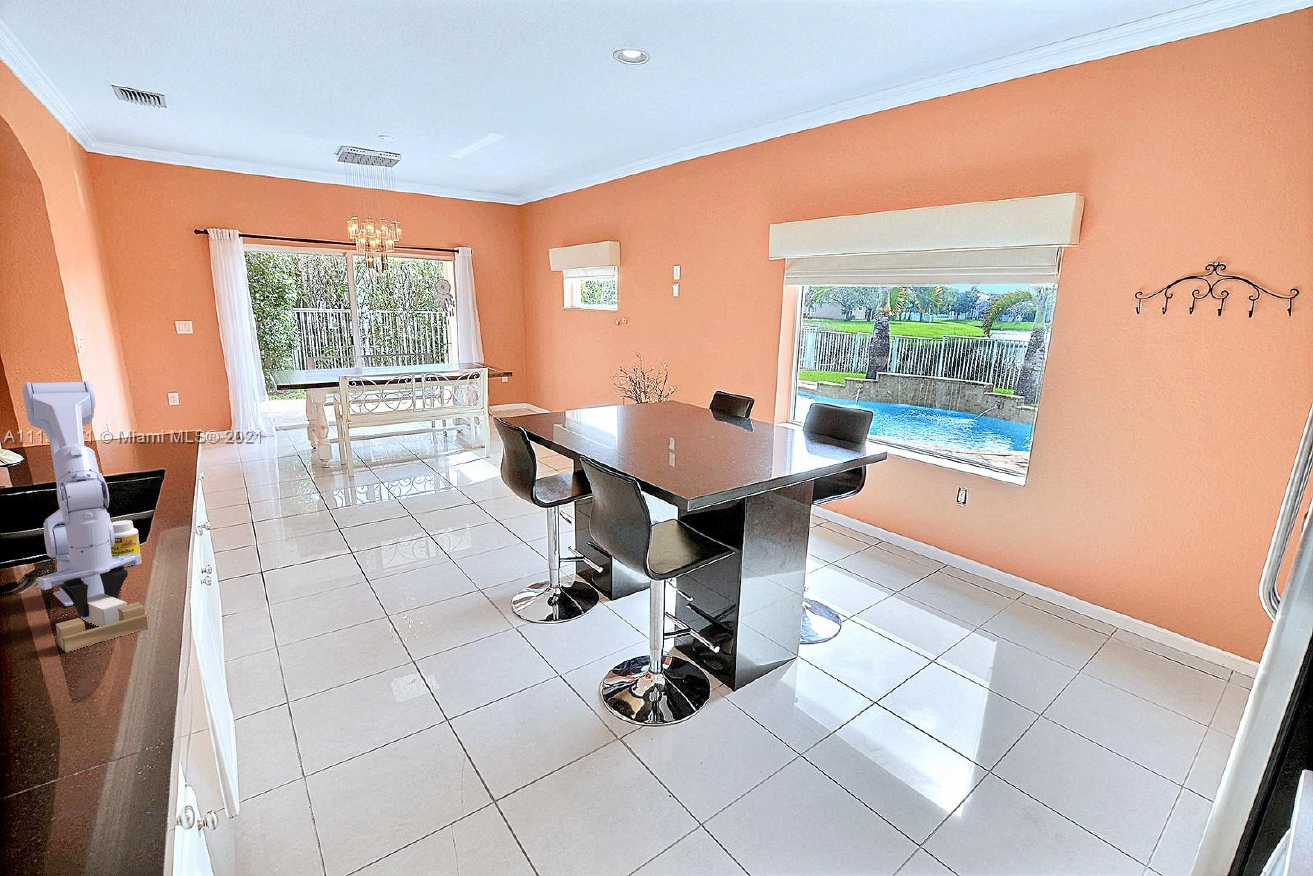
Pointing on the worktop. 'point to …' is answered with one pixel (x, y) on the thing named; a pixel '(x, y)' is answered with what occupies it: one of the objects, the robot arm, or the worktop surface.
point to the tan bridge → (101, 628)
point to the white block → (103, 609)
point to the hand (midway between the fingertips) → (97, 611)
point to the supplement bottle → (125, 539)
